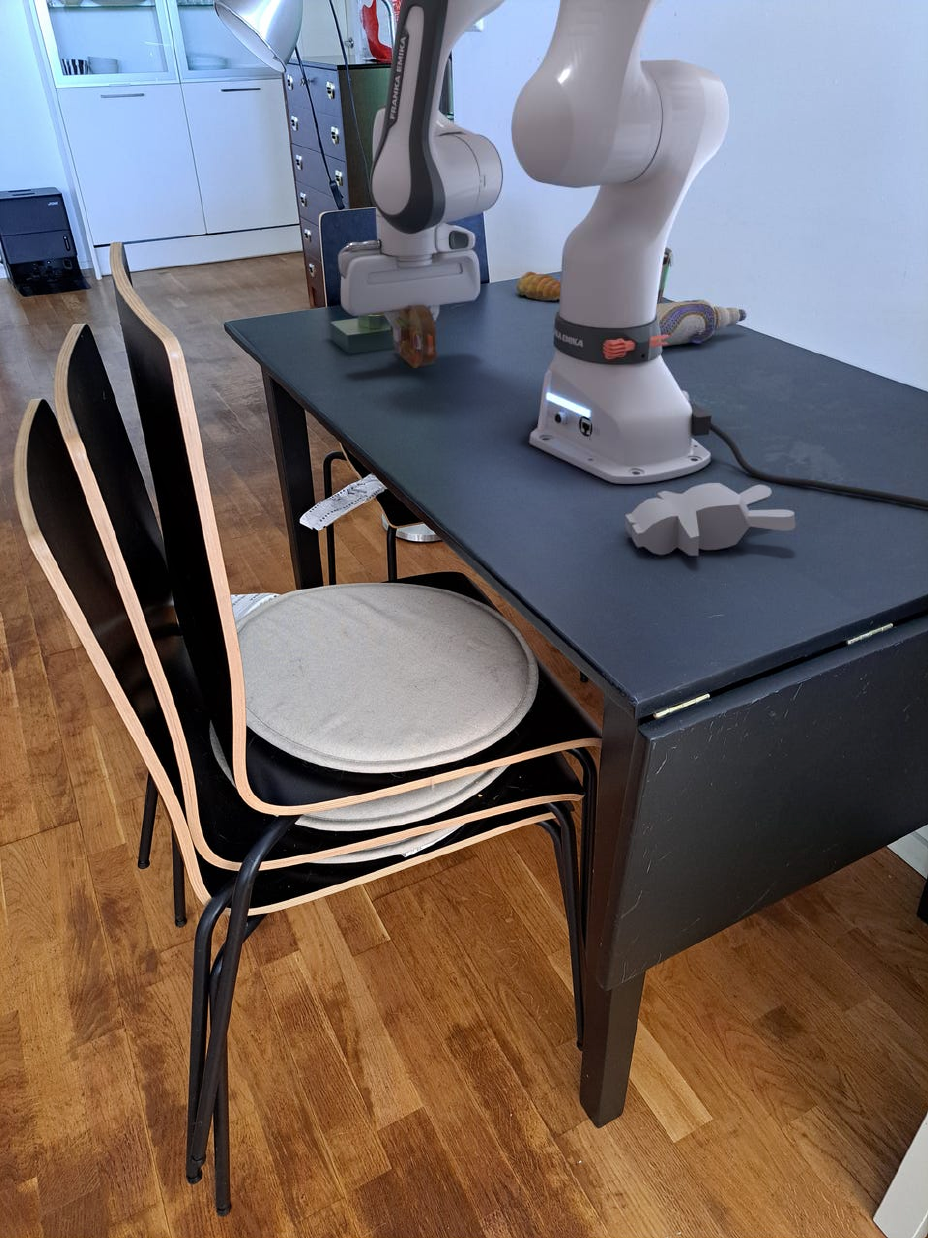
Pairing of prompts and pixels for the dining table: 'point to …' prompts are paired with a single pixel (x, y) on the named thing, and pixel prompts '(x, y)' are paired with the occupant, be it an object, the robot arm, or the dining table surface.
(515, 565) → the dining table surface
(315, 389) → the dining table surface
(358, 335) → the console
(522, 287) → the pastry
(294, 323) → the dining table surface
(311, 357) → the dining table surface
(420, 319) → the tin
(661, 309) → the decorative bottle
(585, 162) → the robot arm
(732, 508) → the bunny figurine
